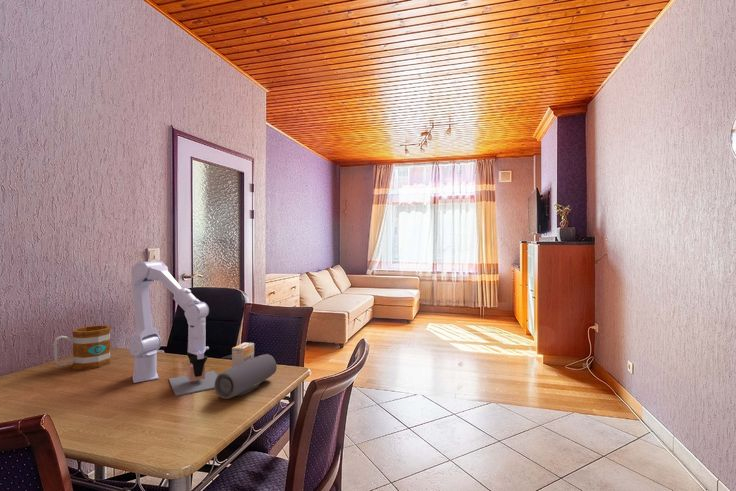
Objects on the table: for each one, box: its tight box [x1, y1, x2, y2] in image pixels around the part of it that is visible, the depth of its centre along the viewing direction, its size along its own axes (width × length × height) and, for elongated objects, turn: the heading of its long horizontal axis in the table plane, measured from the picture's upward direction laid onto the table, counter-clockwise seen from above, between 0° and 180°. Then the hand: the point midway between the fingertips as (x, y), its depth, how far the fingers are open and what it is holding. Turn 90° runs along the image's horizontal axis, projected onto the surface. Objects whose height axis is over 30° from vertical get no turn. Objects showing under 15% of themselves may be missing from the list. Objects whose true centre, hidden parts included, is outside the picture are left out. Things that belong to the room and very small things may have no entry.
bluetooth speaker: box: [214, 353, 278, 400], centre depth 131 cm, size 23×9×10 cm, turn 159°
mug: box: [52, 324, 112, 371], centre depth 154 cm, size 20×14×15 cm
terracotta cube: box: [186, 362, 206, 381], centre depth 136 cm, size 5×5×5 cm
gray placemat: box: [168, 370, 219, 397], centre depth 136 cm, size 18×16×1 cm
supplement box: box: [231, 342, 255, 368], centre depth 140 cm, size 8×5×13 cm, turn 168°
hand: (196, 373), depth 136 cm, fingers closed on terracotta cube, 5 cm apart
